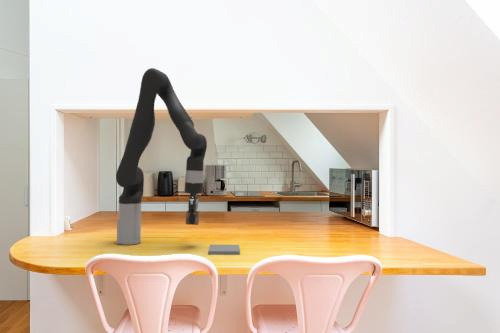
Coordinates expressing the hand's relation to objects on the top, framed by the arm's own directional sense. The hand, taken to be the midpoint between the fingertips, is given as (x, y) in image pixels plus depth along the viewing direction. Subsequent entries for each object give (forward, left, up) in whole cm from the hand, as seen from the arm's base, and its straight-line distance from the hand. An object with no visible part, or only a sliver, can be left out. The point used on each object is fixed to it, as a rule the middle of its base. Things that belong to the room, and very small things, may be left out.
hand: (192, 222), depth 160 cm
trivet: (+13, -7, -10) cm, 18 cm away
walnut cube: (0, 0, -1) cm, 1 cm away
